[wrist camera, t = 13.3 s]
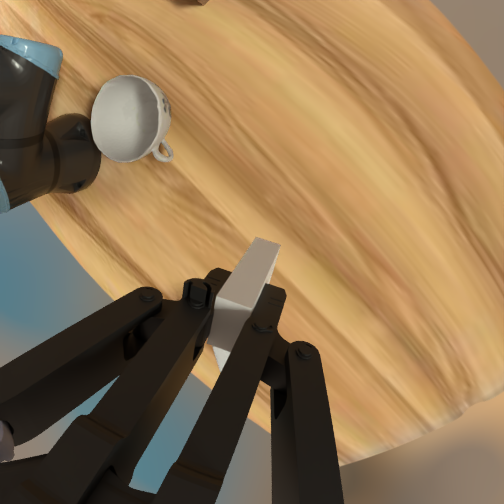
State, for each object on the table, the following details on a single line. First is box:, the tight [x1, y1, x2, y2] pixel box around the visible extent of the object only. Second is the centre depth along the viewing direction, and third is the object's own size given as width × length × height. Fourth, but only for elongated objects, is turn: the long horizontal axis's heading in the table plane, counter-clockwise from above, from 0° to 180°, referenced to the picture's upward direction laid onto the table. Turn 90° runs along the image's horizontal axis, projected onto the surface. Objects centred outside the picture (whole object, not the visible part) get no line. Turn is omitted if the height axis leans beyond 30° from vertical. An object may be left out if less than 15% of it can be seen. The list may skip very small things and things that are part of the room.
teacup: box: [91, 75, 173, 163], centre depth 40 cm, size 15×12×8 cm
